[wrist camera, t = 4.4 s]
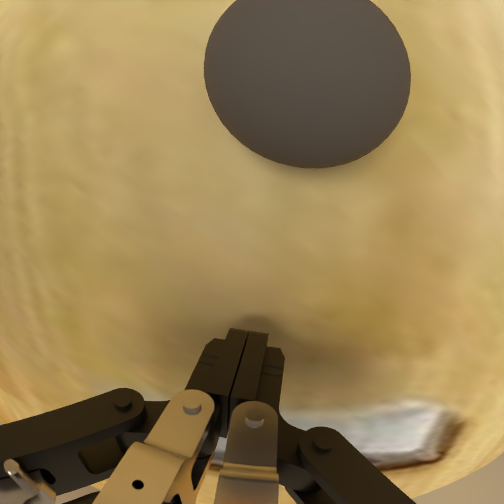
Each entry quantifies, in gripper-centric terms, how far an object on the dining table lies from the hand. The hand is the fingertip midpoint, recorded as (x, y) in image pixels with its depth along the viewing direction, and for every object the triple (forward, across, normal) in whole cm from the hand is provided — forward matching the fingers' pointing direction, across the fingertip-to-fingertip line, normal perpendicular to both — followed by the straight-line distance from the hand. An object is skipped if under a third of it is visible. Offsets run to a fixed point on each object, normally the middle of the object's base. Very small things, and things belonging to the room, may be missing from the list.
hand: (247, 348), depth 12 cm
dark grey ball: (-1, -1, -10) cm, 10 cm away
